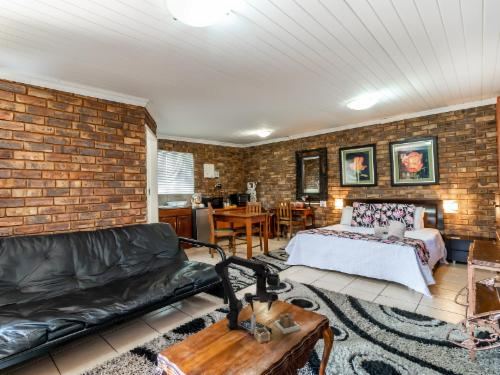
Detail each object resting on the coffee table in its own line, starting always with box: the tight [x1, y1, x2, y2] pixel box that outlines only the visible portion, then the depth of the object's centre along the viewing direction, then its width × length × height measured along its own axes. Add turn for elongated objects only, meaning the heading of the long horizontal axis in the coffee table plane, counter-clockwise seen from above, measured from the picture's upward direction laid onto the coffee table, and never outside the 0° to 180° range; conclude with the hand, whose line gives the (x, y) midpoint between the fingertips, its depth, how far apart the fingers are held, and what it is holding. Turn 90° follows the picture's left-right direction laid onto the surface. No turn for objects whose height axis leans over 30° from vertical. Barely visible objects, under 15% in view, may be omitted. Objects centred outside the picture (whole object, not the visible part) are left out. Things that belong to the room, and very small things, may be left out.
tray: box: [274, 319, 300, 335], centre depth 158 cm, size 10×10×2 cm
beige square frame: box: [253, 326, 271, 344], centre depth 147 cm, size 6×6×4 cm
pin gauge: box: [250, 313, 257, 335], centre depth 153 cm, size 3×3×10 cm
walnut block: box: [279, 312, 295, 329], centre depth 158 cm, size 6×6×6 cm
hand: (260, 311), depth 154 cm, fingers open, 9 cm apart
